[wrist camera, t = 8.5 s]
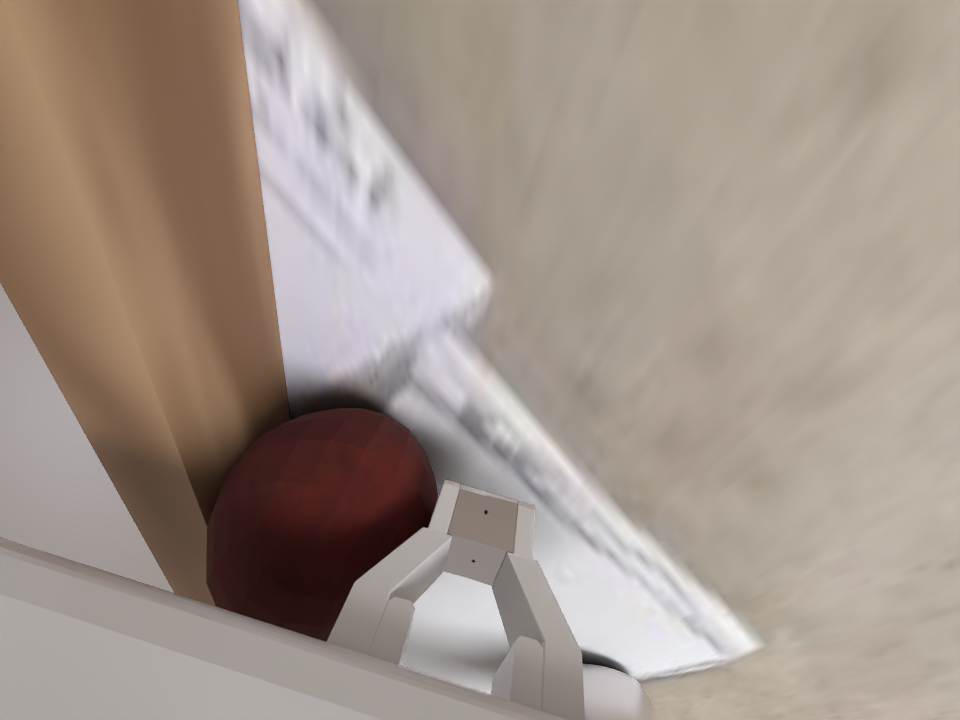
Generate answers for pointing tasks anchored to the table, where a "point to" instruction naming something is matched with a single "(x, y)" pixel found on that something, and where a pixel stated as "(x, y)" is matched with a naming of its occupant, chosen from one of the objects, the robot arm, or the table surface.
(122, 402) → the board
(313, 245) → the table surface
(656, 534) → the table surface
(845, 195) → the table surface
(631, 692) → the plastic bottle
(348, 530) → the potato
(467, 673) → the table surface
